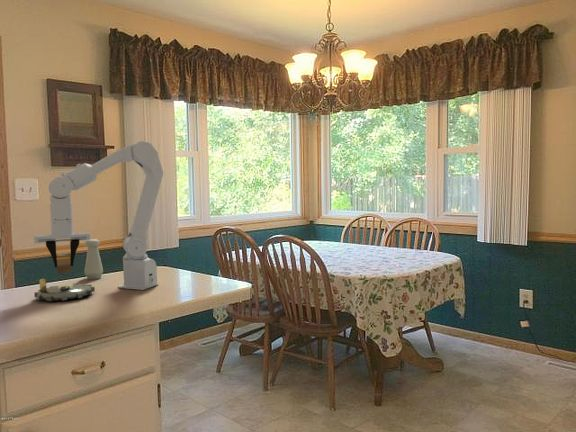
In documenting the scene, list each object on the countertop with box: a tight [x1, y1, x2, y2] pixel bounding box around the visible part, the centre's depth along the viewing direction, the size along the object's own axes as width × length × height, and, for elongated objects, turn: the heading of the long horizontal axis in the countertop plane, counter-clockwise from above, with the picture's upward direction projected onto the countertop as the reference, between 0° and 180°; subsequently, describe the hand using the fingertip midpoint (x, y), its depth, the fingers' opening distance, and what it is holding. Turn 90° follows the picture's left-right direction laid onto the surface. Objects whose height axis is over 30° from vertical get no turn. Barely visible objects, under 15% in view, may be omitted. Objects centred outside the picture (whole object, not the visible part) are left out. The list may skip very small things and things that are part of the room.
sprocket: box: [34, 278, 96, 302], centre depth 138 cm, size 15×15×5 cm
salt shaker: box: [83, 238, 104, 280], centre depth 163 cm, size 6×6×13 cm
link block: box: [56, 252, 72, 274], centre depth 142 cm, size 5×4×5 cm
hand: (64, 266), depth 142 cm, fingers closed on link block, 3 cm apart
